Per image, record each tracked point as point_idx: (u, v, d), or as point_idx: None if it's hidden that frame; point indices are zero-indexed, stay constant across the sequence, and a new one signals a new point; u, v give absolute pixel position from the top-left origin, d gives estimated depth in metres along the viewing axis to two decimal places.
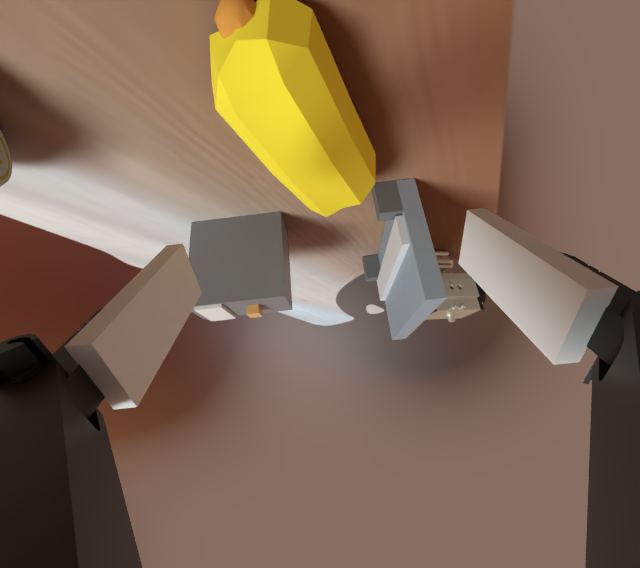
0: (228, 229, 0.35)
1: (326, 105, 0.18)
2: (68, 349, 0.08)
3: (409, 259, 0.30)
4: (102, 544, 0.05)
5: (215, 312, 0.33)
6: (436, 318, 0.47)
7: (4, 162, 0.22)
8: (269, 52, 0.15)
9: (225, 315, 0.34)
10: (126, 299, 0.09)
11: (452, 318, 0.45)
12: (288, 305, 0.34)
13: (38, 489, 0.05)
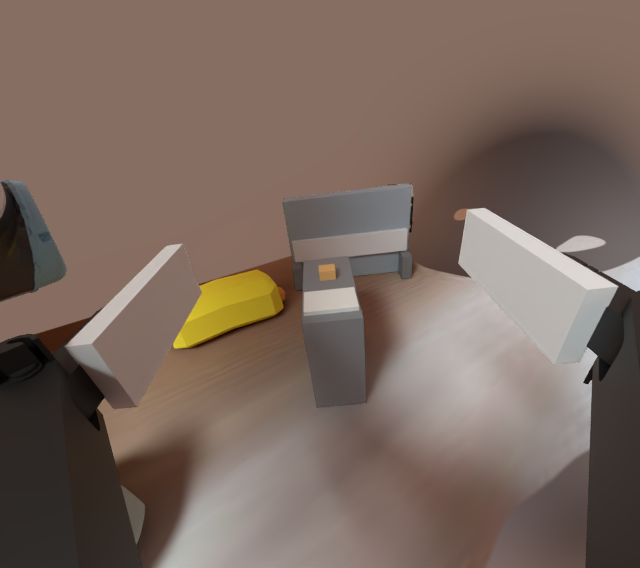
0: None
1: None
2: (68, 349, 0.08)
3: (299, 233, 0.45)
4: (101, 544, 0.05)
5: (320, 298, 0.25)
6: None
7: None
8: None
9: (337, 292, 0.26)
10: (126, 299, 0.09)
11: None
12: (333, 258, 0.32)
13: (38, 489, 0.05)
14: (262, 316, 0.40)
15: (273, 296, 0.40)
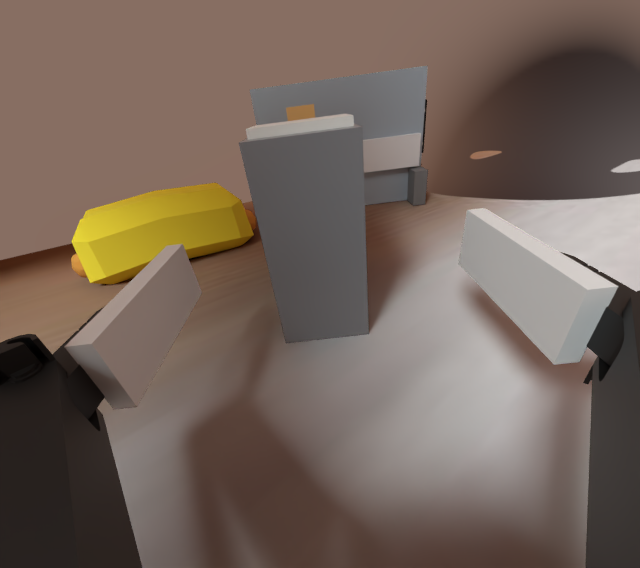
0: None
1: None
2: (68, 349, 0.08)
3: None
4: (101, 544, 0.05)
5: (283, 122, 0.14)
6: None
7: None
8: None
9: (314, 118, 0.14)
10: (126, 299, 0.09)
11: None
12: None
13: (39, 488, 0.05)
14: (221, 240, 0.29)
15: (236, 213, 0.29)
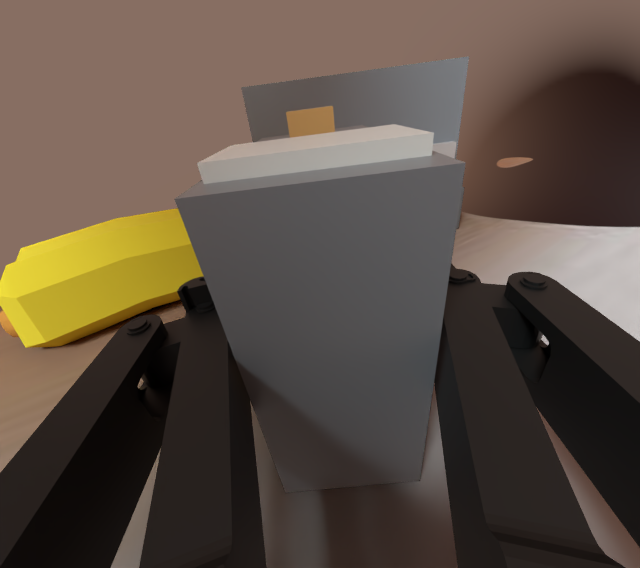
0: None
1: None
2: None
3: None
4: (241, 477, 0.05)
5: (280, 143, 0.07)
6: None
7: None
8: None
9: (338, 133, 0.08)
10: None
11: None
12: None
13: (208, 409, 0.06)
14: None
15: None
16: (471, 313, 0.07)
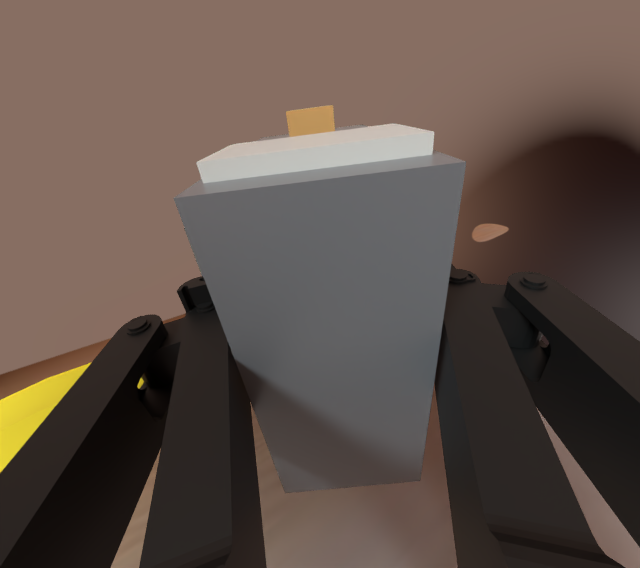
0: None
1: None
2: None
3: None
4: (242, 476, 0.05)
5: (280, 142, 0.07)
6: None
7: None
8: None
9: (338, 132, 0.08)
10: None
11: None
12: None
13: (208, 409, 0.06)
14: None
15: None
16: (471, 313, 0.07)
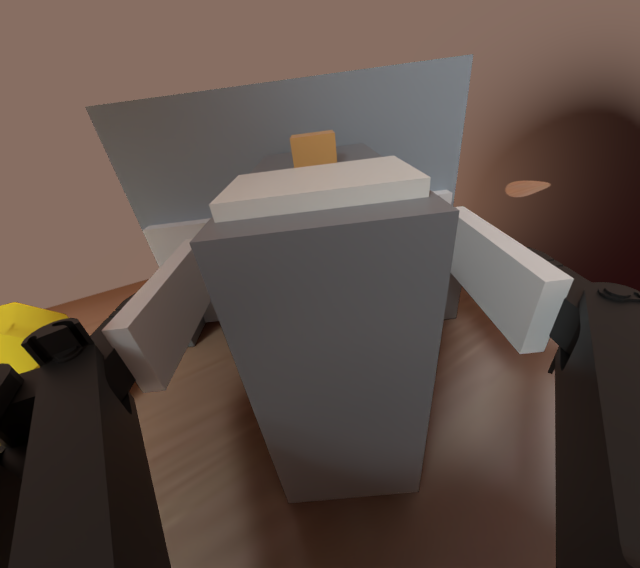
0: None
1: None
2: (105, 333, 0.08)
3: (162, 204, 0.17)
4: (131, 524, 0.05)
5: (286, 177, 0.07)
6: None
7: None
8: None
9: (340, 166, 0.08)
10: (154, 288, 0.10)
11: None
12: None
13: (77, 466, 0.05)
14: None
15: None
16: (631, 337, 0.06)
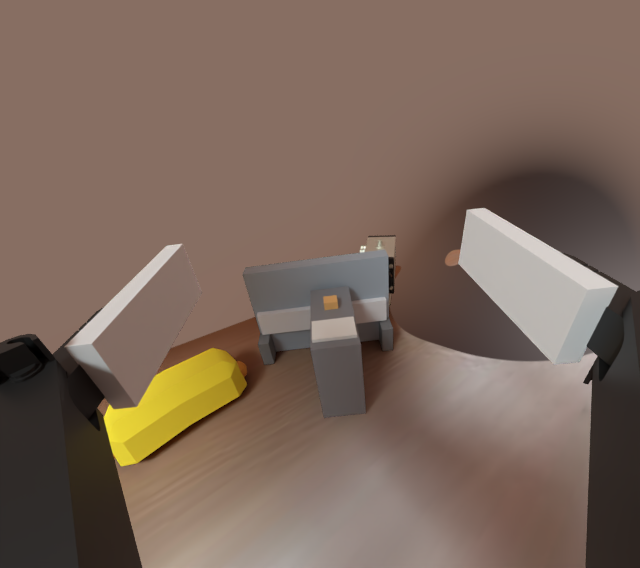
0: None
1: None
2: (68, 349, 0.08)
3: (265, 304, 0.40)
4: (102, 543, 0.05)
5: (325, 326, 0.31)
6: (392, 249, 0.45)
7: None
8: (105, 416, 0.32)
9: (339, 321, 0.31)
10: (126, 299, 0.09)
11: (377, 242, 0.47)
12: (335, 288, 0.38)
13: (38, 489, 0.05)
14: (224, 403, 0.36)
15: (234, 378, 0.36)
16: None
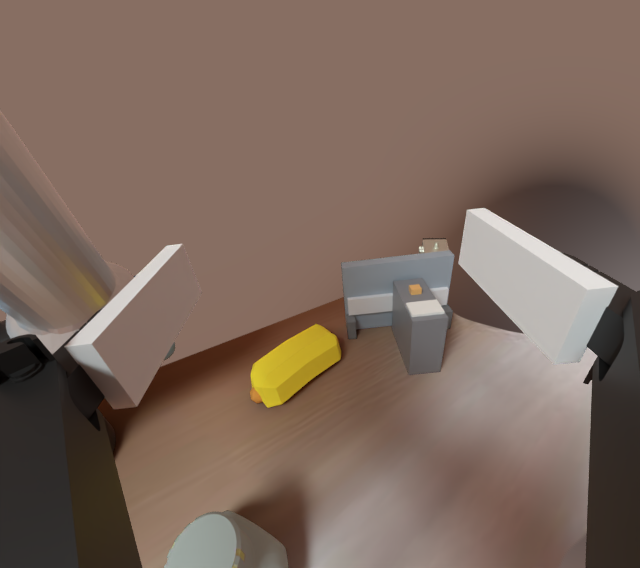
0: (401, 346, 0.49)
1: (269, 352, 0.47)
2: (68, 349, 0.08)
3: (354, 291, 0.52)
4: (102, 544, 0.05)
5: (418, 306, 0.42)
6: (447, 249, 0.57)
7: None
8: (252, 372, 0.44)
9: (427, 303, 0.43)
10: (126, 299, 0.09)
11: (434, 244, 0.58)
12: (412, 279, 0.49)
13: (39, 488, 0.05)
14: (331, 364, 0.48)
15: (337, 345, 0.48)
16: None
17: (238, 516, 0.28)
